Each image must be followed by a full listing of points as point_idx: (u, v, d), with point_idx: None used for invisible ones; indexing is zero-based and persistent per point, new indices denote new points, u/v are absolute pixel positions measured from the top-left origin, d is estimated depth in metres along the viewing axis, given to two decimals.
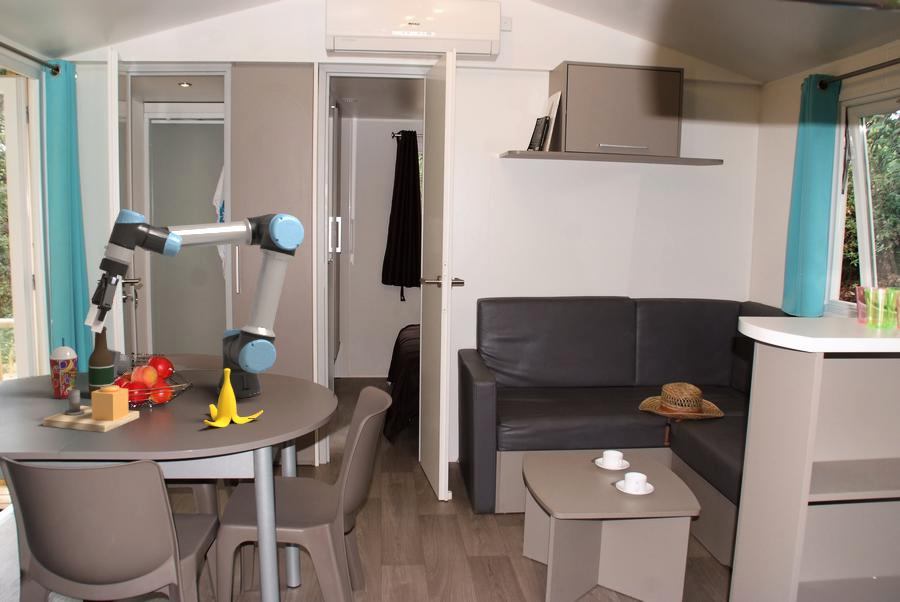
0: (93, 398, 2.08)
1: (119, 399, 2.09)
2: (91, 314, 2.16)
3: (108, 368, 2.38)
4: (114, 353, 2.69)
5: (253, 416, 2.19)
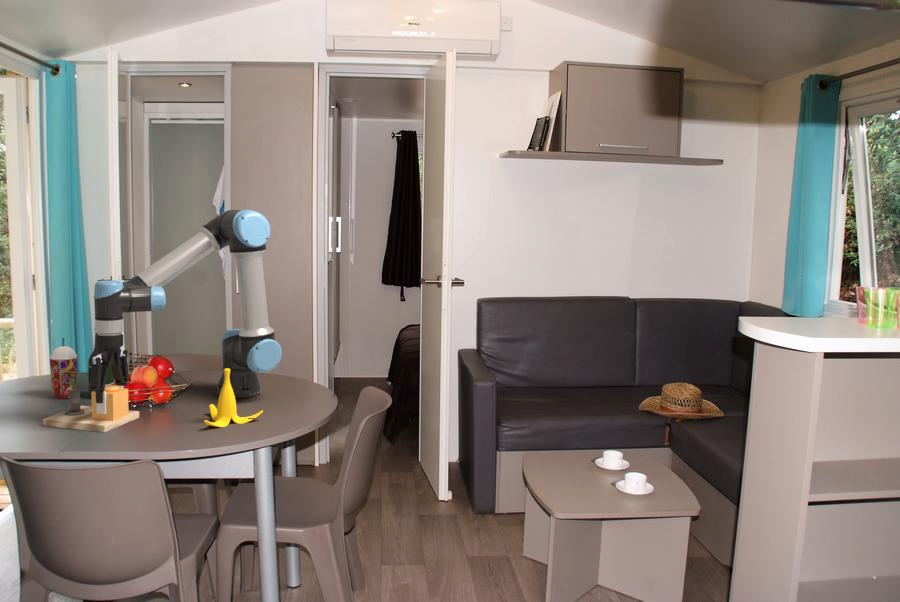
0: (93, 398, 2.08)
1: (119, 399, 2.09)
2: None
3: None
4: None
5: (253, 416, 2.19)
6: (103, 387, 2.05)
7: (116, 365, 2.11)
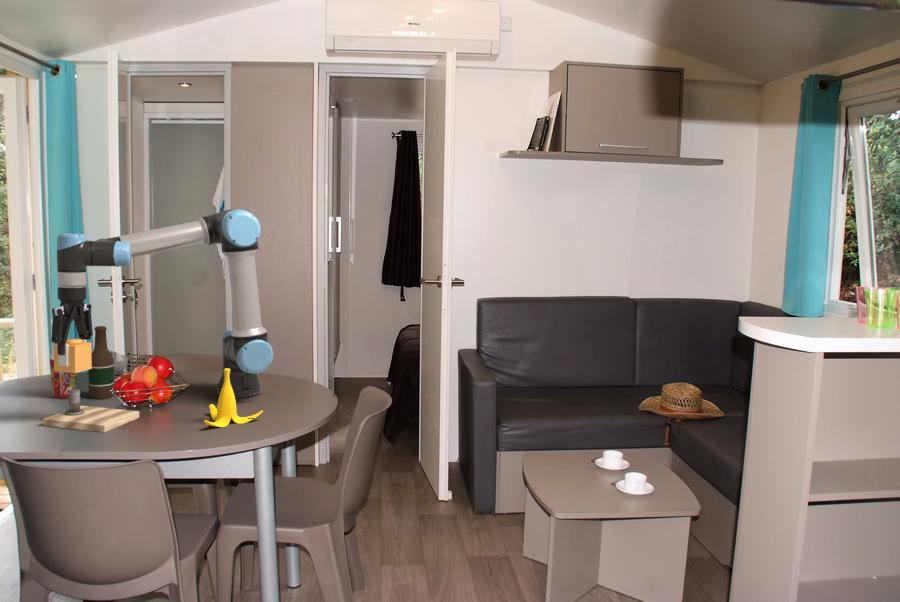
0: (55, 350, 2.08)
1: (81, 352, 2.10)
2: None
3: (108, 368, 2.38)
4: None
5: (253, 416, 2.19)
6: (65, 339, 2.06)
7: (79, 318, 2.12)
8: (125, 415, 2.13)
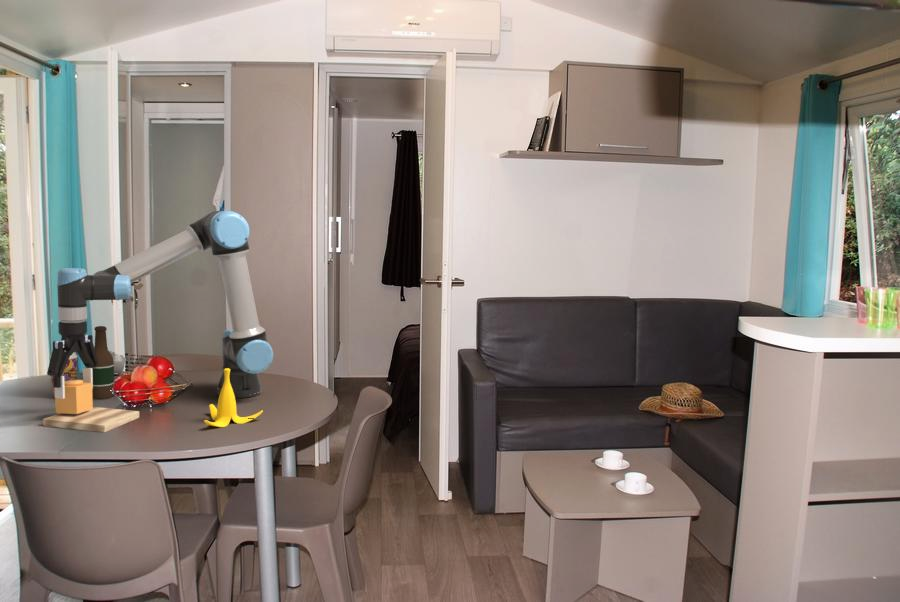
0: None
1: (83, 392, 2.12)
2: (85, 378, 2.18)
3: (108, 368, 2.38)
4: None
5: (253, 416, 2.19)
6: (61, 372, 2.05)
7: (82, 351, 2.14)
8: (125, 415, 2.13)
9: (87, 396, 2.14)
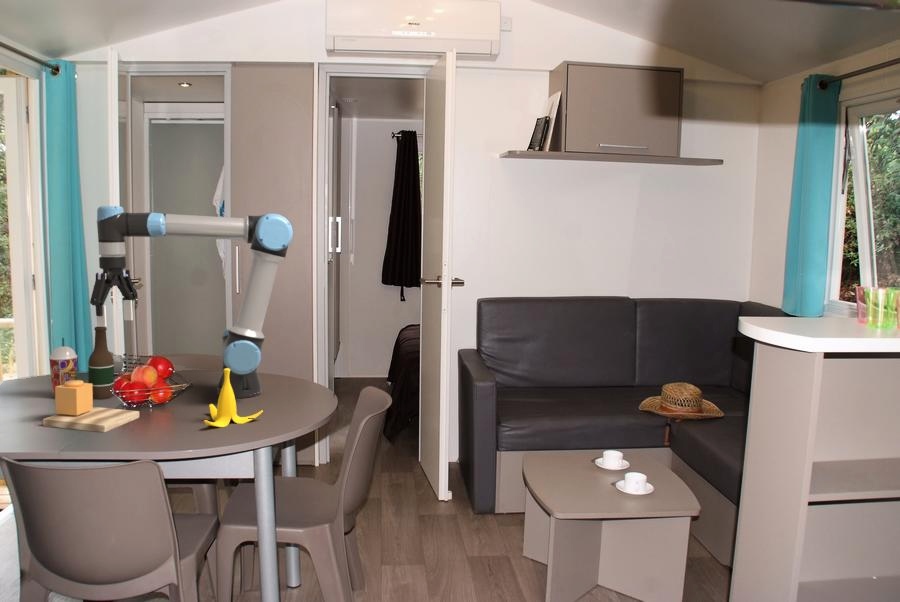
0: (57, 393, 2.10)
1: (83, 394, 2.11)
2: (126, 309, 2.31)
3: (108, 368, 2.38)
4: None
5: (253, 416, 2.19)
6: (103, 301, 2.17)
7: (122, 285, 2.26)
8: (125, 415, 2.13)
9: (87, 397, 2.13)
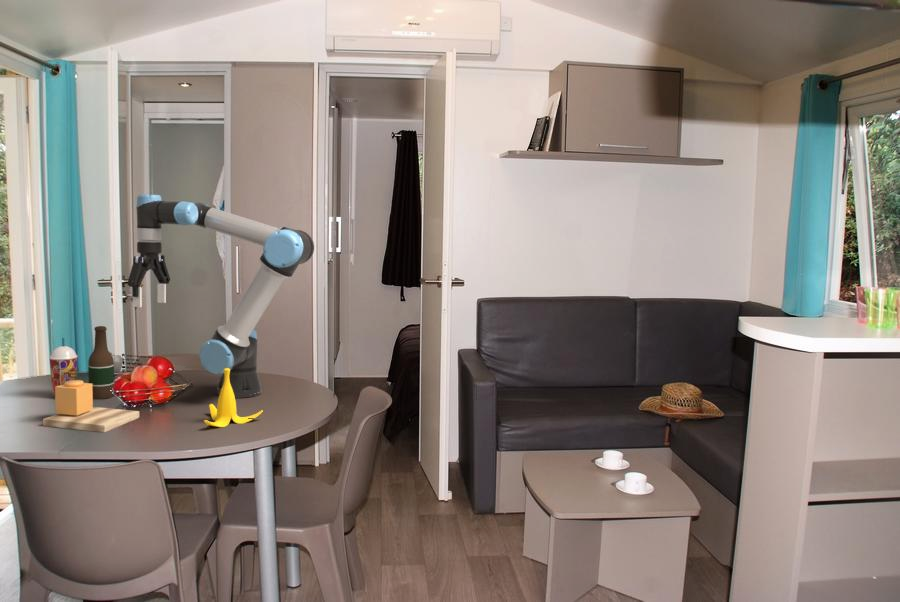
0: (57, 393, 2.10)
1: (83, 394, 2.11)
2: (159, 292, 2.45)
3: (108, 368, 2.38)
4: None
5: (253, 416, 2.19)
6: (139, 283, 2.31)
7: (157, 269, 2.41)
8: (125, 415, 2.13)
9: (87, 397, 2.13)
